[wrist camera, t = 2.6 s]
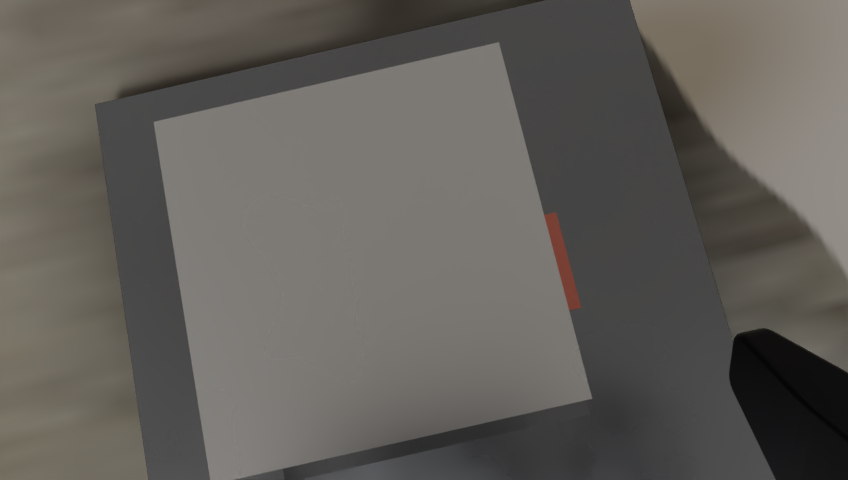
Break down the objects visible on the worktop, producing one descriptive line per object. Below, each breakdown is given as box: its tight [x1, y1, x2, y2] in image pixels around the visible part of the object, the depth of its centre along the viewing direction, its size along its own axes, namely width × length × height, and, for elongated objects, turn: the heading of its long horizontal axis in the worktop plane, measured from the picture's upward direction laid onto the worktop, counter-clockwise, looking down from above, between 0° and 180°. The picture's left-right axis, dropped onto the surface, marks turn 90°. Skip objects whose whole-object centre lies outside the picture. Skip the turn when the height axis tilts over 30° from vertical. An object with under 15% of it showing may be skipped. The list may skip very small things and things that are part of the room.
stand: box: [95, 0, 775, 480], centre depth 16 cm, size 16×16×6 cm
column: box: [154, 42, 592, 480], centre depth 12 cm, size 4×4×11 cm
